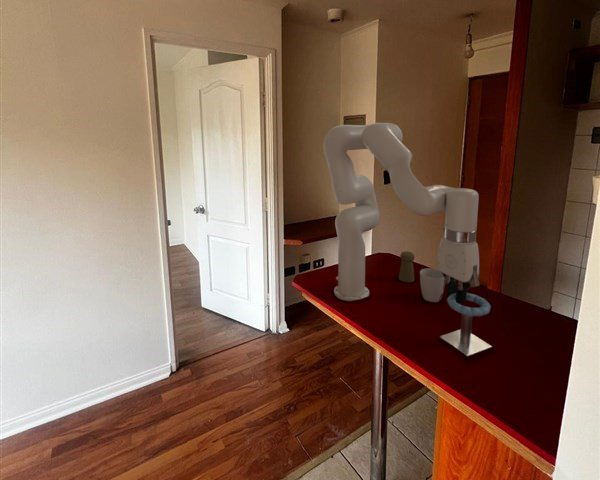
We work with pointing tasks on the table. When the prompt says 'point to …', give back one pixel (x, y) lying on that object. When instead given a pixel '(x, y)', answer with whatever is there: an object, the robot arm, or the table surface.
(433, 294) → the cup
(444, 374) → the table surface
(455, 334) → the post
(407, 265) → the cork
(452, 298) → the ring
